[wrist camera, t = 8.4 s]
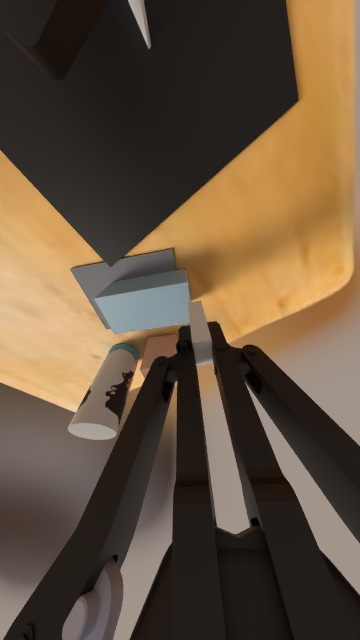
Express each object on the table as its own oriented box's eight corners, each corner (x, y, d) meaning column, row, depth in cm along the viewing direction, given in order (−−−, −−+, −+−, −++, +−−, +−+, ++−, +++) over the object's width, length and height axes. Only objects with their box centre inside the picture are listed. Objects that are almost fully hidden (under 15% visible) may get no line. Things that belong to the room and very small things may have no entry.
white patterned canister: (109, 360, 34) (71, 437, 22) (110, 341, 31) (64, 420, 18) (137, 365, 36) (115, 441, 23) (141, 347, 32) (117, 425, 20)
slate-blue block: (191, 302, 25) (126, 313, 26) (186, 268, 22) (112, 282, 23) (194, 322, 20) (114, 333, 21) (188, 282, 17) (93, 298, 18)
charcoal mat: (107, 328, 29) (106, 329, 28) (71, 268, 22) (69, 268, 22) (184, 316, 27) (184, 317, 27) (172, 248, 20) (172, 249, 20)
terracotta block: (155, 356, 34) (150, 388, 27) (148, 337, 30) (140, 369, 24) (180, 353, 33) (181, 385, 27) (175, 333, 30) (175, 365, 23)
